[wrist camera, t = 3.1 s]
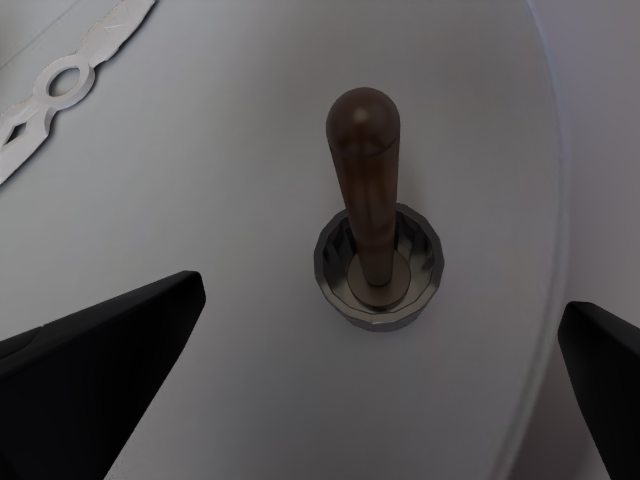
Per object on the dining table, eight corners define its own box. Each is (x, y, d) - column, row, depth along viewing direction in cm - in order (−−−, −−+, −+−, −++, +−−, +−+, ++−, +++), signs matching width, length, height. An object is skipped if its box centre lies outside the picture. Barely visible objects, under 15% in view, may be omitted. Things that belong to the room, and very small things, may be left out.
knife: (174, 4, 30) (168, -5, 29) (-72, 276, 25) (-87, 273, 24) (130, -12, 32) (123, -21, 31) (-107, 236, 27) (-121, 232, 26)
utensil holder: (451, 301, 18) (471, 283, 14) (358, 351, 18) (349, 347, 14) (396, 218, 20) (399, 179, 16) (313, 262, 20) (294, 235, 16)
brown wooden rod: (421, 291, 18) (502, 121, 5) (366, 320, 18) (318, 220, 5) (389, 240, 19) (393, 4, 6) (338, 267, 19) (244, 85, 7)
